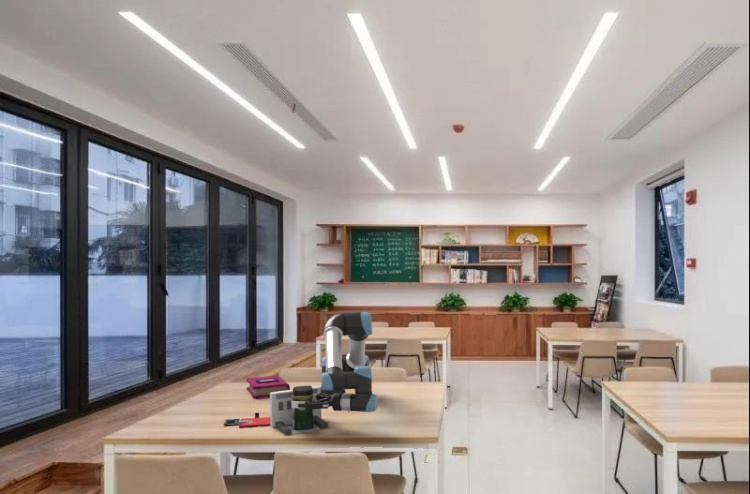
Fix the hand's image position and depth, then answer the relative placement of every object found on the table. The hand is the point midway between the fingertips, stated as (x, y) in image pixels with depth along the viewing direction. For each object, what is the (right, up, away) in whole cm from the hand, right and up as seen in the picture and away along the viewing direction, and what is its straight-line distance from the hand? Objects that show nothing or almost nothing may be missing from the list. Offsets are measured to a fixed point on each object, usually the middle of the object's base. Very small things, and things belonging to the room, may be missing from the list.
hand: (297, 400), depth 223 cm
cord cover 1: (-6, -12, -3) cm, 14 cm away
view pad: (+3, -12, -1) cm, 12 cm away
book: (-29, -18, +73) cm, 80 cm away
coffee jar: (+3, -12, -1) cm, 12 cm away
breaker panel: (-2, -13, +8) cm, 15 cm away
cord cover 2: (+9, -12, +5) cm, 16 cm away
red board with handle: (-21, -14, +10) cm, 27 cm away
